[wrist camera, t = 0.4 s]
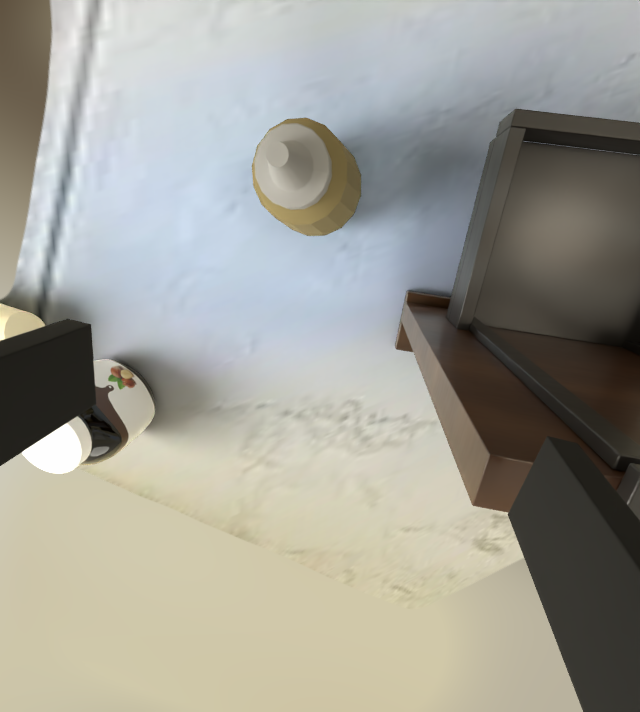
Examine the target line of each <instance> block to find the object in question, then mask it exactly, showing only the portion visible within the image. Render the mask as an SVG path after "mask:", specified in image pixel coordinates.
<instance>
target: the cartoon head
mask: <svg viewBox="0 0 640 712" xmlns="http://www.w3.org/2000/svg"><path fill="white" fill-rule="evenodd" d="M44 326H45V324H44V322H43V321H42V320H41V319H40V318H39V317H37V316H36V315H34V314H32V313H29V312H26V311H23V310H19V309H16V308H13V307H9V306H6V305H4V304H2V303H0V341H1V340H4V339H7V338H10V337H13V336H16V335H19V334H22V333H26V332H29V331H32V330H35V329H38V328H41V327H44Z"/></svg>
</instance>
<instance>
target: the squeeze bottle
mask: <svg viewBox="0 0 640 712" xmlns="http://www.w3.org/2000/svg"><path fill="white" fill-rule="evenodd" d="M252 173H253V185H254V188H255V191H256V193H257V195H258V197H259V199H260V202H261V204H262V205H263V206H264V207H265V208H266V209H267V210H268V211H269V212H270V213H271V214H272V215H273V216H274V217H275V218H276V219H278V220H279V221H281V222H282V223H283V224H285V225H286V226H288V227H289V228H291V229H292V230H295V231H297V232H300V233H302V234H305V235H307V236H322V235H327V234H329V233H332V232H334V231H336V230H338V229H340V228H342V227H343V226H344V224H345V223H346V222H347V221H348V220H349V219H350V218H351V217H352V216H353V214H354V213H355V210H356V207H357V205H358V202H359V199H360V197H361V174H360V171H359V169H358V166H357V164H356V161H355V158H354V156H353V155H352V154H351V153H350V152H349V151H348V150H347V148H346V147H345V146H344V145H343V144H342V143H341V142H340V141H339V140H338V139H337V137H336V136H335V135H334V134H333V133H332V132H331V131H330V130H329V129H328V128H327V127H326V126H325V125H323V124H320V123H318V122H315V121H313V120H310V119H308V118H299V119H287V120H285V121H283V122H281V123H280V124H278V125H276V126H275V127H273V128H271V129H270V130H269V131H268V132H267V134H266V135H265V136H264V138H263V139H262V140H261V142H260V143H259V144H258V146H257V149H256V153H255V157H254V160H253V164H252Z"/></svg>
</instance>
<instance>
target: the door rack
mask: <svg viewBox="0 0 640 712" xmlns="http://www.w3.org/2000/svg"><path fill="white" fill-rule="evenodd" d="M524 141H530V142H524ZM533 142H538V143H533ZM541 143H546V144H541ZM549 144H555V145H549ZM558 145H563V146H558ZM566 146H571V147H566ZM574 147H580V148H574ZM583 148H588V149H583ZM591 149H596V150H591ZM599 150H605V151H599ZM608 151H613V152H608ZM616 152H621V153H616ZM624 153H630V154H624ZM633 154H638V155H633ZM395 348H396V349H397V350H403V351H409V352H414V355H415V357H416V360H417V363H418V365H419V368H420V370H421V373H422V376H423V378H424V381H425V383H426V386H427V389H428V391H429V394H430V396H431V399H432V402H433V404H434V407H435V409H436V412H437V415H438V417H439V420H440V422H441V425H442V428H443V430H444V433H445V435H446V438H447V441H448V443H449V446H450V448H451V451H452V454H453V456H454V459H455V461H456V464H457V467H458V469H459V472H460V474H461V477H462V480H463V482H464V485H465V487H466V490H467V493H468V495H469V498H470V500H471V503H472V505H473V506H477V507H482V508H488V509H493V510H498V511H503V512H508V513H509V511H510V509H511V507H512V505H513V503H514V501H515V499H516V497H517V495H518V493H519V491H520V489H521V487H522V485H523V483H524V481H525V479H526V477H527V475H528V473H529V471H530V469H531V467H532V465H533V463H534V461H535V459H536V457H537V455H538V453H539V451H540V449H541V447H542V445H543V443H544V441H545V439H546V437H547V436H550V437H554V438H558V439H562V440H566V441H570V442H575V443H578V444H579V445H580V447H581V448H582V449H583V450H584V452H585V453H586V454H587V455H588V457H589V458H590V459H591V460H592V462H593V463H594V464H595V465H596V467H597V468H598V469H599V470H600V472H601V473H602V474H603V475H604V477H605V478H606V479H607V480H608V482H609V483H610V484H611V485H612V486H613V488H614V489H615V490H616V491H617V493H618V494H619V495H620V496H621V498H622V499H623V500H624V501H625V503H626V504H627V505H628V506H629V508H630V509H631V510H632V511H633V513H634V514H635V515H636V516H637V518H638V519H639V520H640V123H636V122H628V121H619V120H610V119H601V118H592V117H584V116H575V115H566V114H557V113H549V112H540V111H531V110H522V109H515V110H514V111H512V112H511V113H510V114H509V115H508V116H507V117H505V118H504V119H503V120H502V121H501V122H500V123H499V127H498V131H497V135H496V138H495V139H494V140H492V141H491V142H490V145H489V149H488V153H487V157H486V160H485V164H484V168H483V172H482V176H481V180H480V184H479V188H478V192H477V196H476V200H475V204H474V208H473V212H472V216H471V220H470V224H469V228H468V232H467V236H466V240H465V244H464V247H463V251H462V255H461V259H460V263H459V267H458V271H457V275H456V279H455V283H454V287H453V291H452V295H451V297H445V296H439V295H432V294H426V293H419V292H413V291H406V296H405V301H404V305H403V310H402V315H401V320H400V324H399V329H398V334H397V339H396V343H395Z"/></svg>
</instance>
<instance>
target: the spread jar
mask: <svg viewBox="0 0 640 712" xmlns="http://www.w3.org/2000/svg"><path fill="white" fill-rule="evenodd" d="M93 362H94V376H95V390H96V405H94V406H93V407H91V408H90V409H88V410H86V411H85V412H83V413H82V414H80V415H79V416H77V417H76V418H74V419H72V420H71V421H69V422H68V423H66V424H65V425H63V426H62V427H60V428H58V429H57V430H55V431H54V432H52V433H51V434H49V435H48V436H46V437H44V438H43V439H41V440H40V441H38V442H37V443H35V444H34V445H32V446H30V447H29V448H27V449H26V450H24V451H23V452H21V453H22V454H23V455H24V456H25V457H26V459H27V460H28V461H30V462H31V463H32V464H33V465H35V466H36V467H38V468H40V469H42V470H44V471H47V472H50V473H57V474H61V473H67V472H70V471H72V470H73V469H75V468H76V467H77V466H79V465H91V464H97V463H100V462H102V461H104V460H107V459H109V458H111V457H112V456H114V455H115V454H117V453H118V452H120V451H121V450H123V449H124V448H125V447H126V446H128V445H129V444H130V443H131V442H132V441H133V440H134V439H136V438H137V437H138V436H139V435H140V434H141V433H142V432H143V431H144V430H145V429H146V428H147V426H148V425H149V424H150V423H151V421H152V419H153V417H154V414H155V402H154V397H153V394H152V392H151V389H150V387H149V385H148V384H147V382H146V381H145V379H144V378H143V377H142V376H141V375H140V374H139V373H137V372H136V371H135V370H133V369H132V368H130V367H128V366H127V365H125V364H122V363H120V362H118V361H114V360H110V359H101V360H95V361H93Z"/></svg>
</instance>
